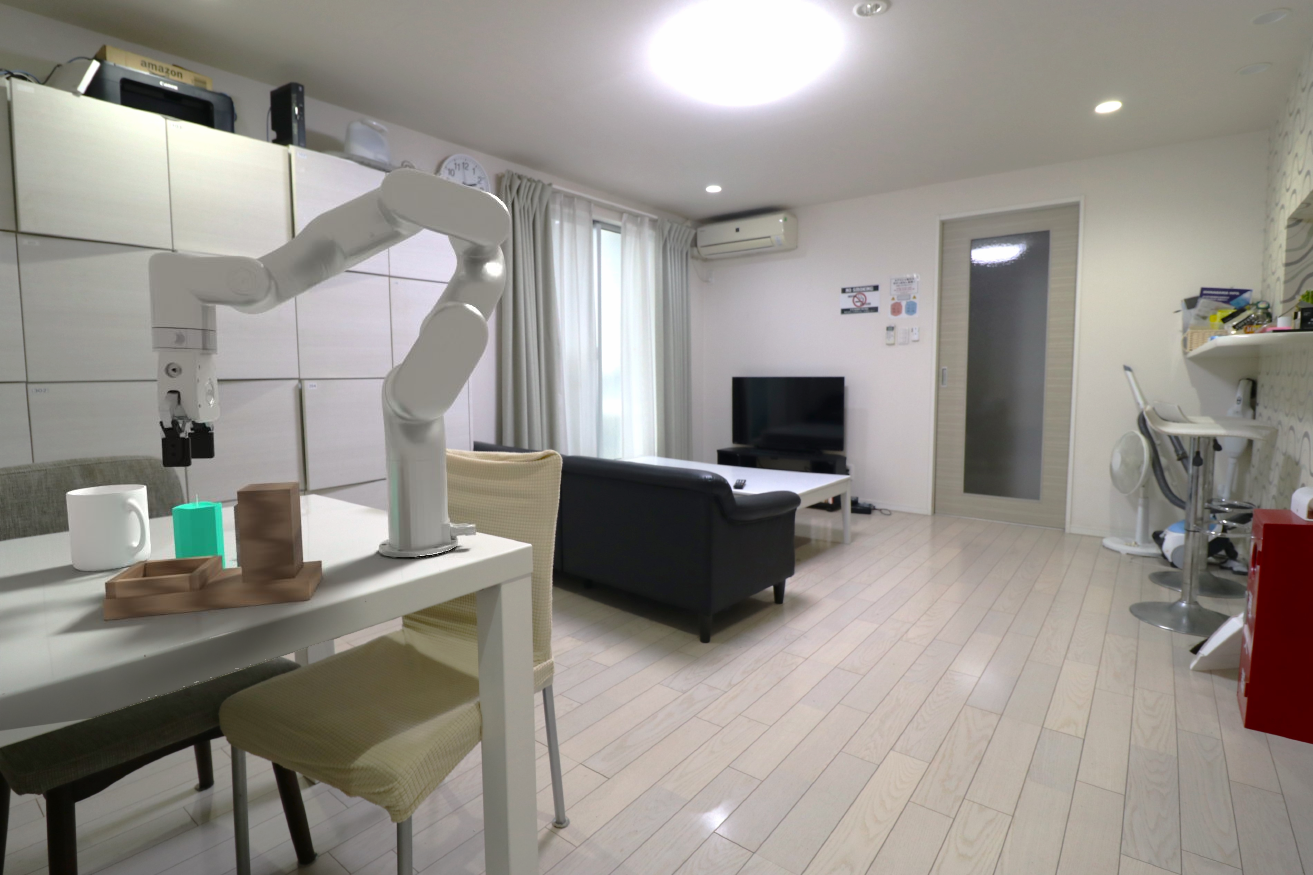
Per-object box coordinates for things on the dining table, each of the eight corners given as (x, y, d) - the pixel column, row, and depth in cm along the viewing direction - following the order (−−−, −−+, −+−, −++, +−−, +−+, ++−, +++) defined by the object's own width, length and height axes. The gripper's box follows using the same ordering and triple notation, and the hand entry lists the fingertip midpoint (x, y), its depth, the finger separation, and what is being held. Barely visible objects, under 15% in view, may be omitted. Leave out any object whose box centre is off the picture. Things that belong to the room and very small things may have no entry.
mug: (110, 554, 105) (105, 484, 104) (181, 555, 105) (176, 484, 103) (54, 571, 96) (47, 494, 94) (132, 572, 95) (126, 495, 94)
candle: (200, 582, 91) (195, 499, 90) (165, 579, 92) (159, 497, 91) (236, 570, 97) (231, 491, 95) (203, 567, 98) (197, 490, 97)
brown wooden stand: (322, 577, 93) (317, 478, 92) (309, 599, 84) (304, 490, 82) (140, 593, 86) (132, 487, 85) (104, 620, 77) (94, 501, 75)
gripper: (194, 340, 84) (200, 469, 86) (233, 347, 100) (237, 455, 102) (125, 338, 82) (132, 471, 83) (177, 345, 98) (181, 456, 99)
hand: (190, 462), depth 92 cm, fingers open, 9 cm apart
